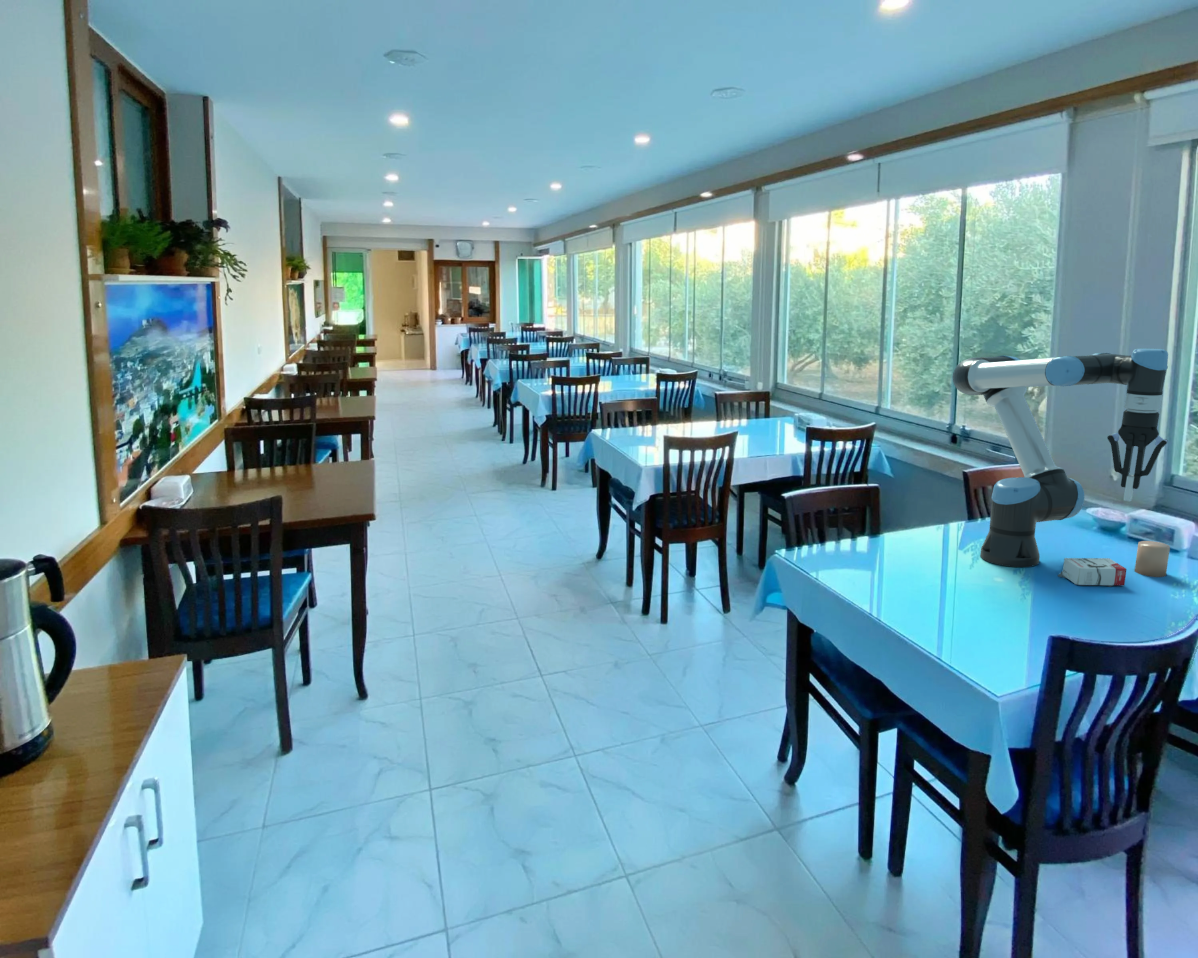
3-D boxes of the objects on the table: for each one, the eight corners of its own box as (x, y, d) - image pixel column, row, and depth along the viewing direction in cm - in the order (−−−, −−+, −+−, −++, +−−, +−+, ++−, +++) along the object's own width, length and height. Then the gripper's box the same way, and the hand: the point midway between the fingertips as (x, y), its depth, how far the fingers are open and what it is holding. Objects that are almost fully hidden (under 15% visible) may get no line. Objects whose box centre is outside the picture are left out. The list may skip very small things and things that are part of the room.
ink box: (1127, 568, 198) (1079, 568, 199) (1125, 586, 199) (1077, 585, 201) (1109, 557, 207) (1063, 557, 208) (1106, 574, 208) (1061, 574, 209)
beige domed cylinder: (1132, 573, 209) (1135, 545, 208) (1137, 566, 214) (1141, 539, 212) (1163, 578, 205) (1167, 550, 203) (1168, 572, 209) (1172, 544, 208)
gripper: (1108, 409, 196) (1095, 498, 202) (1170, 414, 188) (1155, 507, 193) (1114, 406, 201) (1101, 492, 207) (1175, 411, 193) (1160, 501, 199)
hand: (1127, 499), depth 200 cm, fingers closed
